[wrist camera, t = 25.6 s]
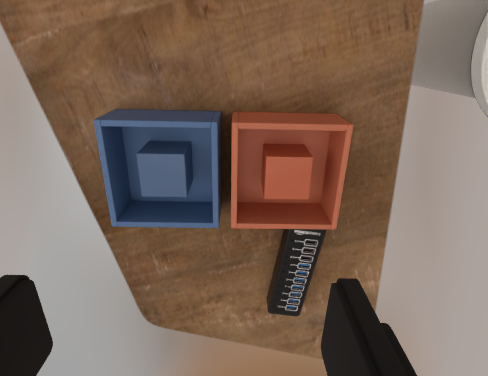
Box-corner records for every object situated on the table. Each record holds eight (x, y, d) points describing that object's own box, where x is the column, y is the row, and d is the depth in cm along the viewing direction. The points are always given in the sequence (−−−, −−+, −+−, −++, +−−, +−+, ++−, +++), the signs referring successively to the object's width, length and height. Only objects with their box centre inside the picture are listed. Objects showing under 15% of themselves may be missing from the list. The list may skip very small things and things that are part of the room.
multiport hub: (266, 300, 44) (267, 313, 42) (288, 212, 38) (291, 221, 36) (296, 304, 44) (299, 317, 42) (323, 217, 39) (327, 226, 37)
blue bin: (220, 111, 33) (217, 122, 28) (221, 204, 38) (218, 228, 33) (115, 109, 33) (93, 119, 28) (128, 203, 38) (111, 226, 33)
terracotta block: (304, 144, 34) (313, 157, 30) (300, 182, 36) (308, 199, 32) (263, 143, 34) (266, 156, 30) (261, 181, 36) (264, 199, 32)
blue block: (191, 141, 34) (184, 154, 30) (193, 180, 36) (186, 197, 32) (149, 140, 34) (136, 153, 30) (153, 179, 36) (141, 196, 32)
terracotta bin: (336, 113, 34) (353, 124, 28) (323, 206, 38) (336, 229, 33) (232, 111, 33) (231, 122, 28) (232, 204, 38) (231, 228, 33)
